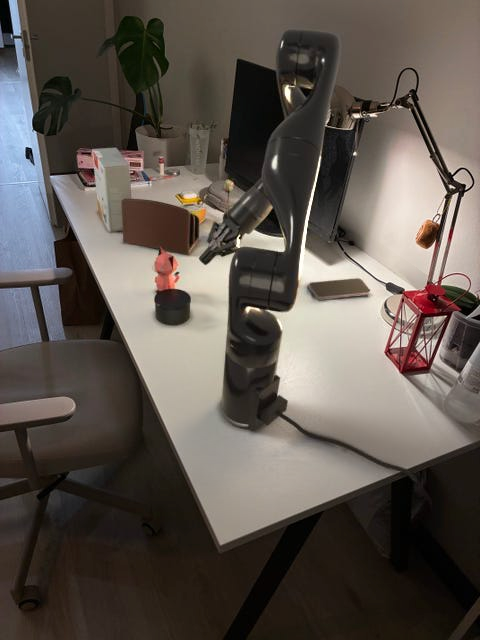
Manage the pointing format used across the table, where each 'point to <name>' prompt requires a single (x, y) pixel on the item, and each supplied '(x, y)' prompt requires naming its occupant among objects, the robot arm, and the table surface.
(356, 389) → the table surface
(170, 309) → the steel tin
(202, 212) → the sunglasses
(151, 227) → the letter holder
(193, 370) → the table surface
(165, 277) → the cat figurine
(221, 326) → the table surface
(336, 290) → the smartphone
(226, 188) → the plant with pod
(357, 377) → the table surface
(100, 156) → the hard drive box
